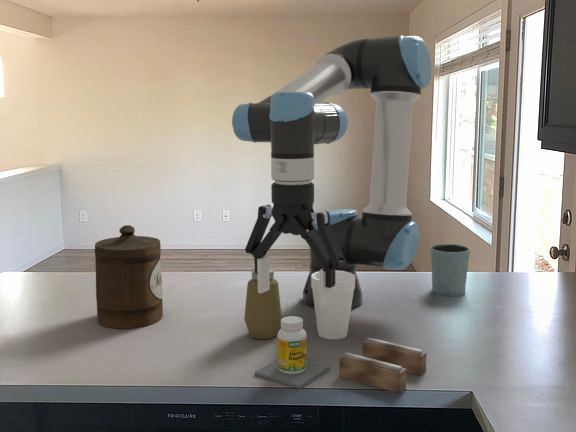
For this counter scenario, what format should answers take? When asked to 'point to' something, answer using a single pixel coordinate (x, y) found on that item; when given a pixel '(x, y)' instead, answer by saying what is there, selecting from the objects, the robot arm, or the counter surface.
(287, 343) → the supplement bottle
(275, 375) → the mat
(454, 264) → the green cup
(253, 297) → the squeeze bottle
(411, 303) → the counter surface
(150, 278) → the wooden container
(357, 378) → the wooden blocks
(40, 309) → the counter surface
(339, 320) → the foam cup
